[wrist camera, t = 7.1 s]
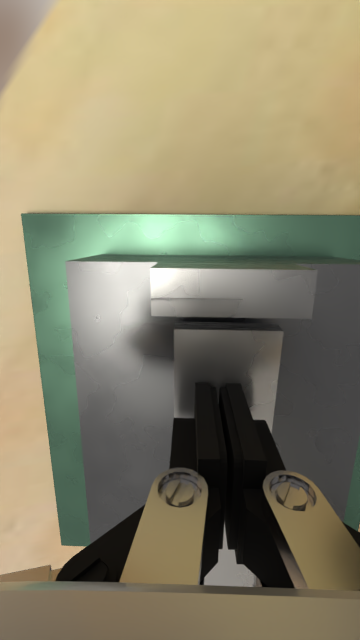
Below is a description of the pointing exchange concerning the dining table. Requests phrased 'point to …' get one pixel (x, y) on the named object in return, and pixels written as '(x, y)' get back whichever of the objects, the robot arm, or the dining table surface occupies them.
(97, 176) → the dining table surface
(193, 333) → the steel strap
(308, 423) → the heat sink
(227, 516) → the robot arm
